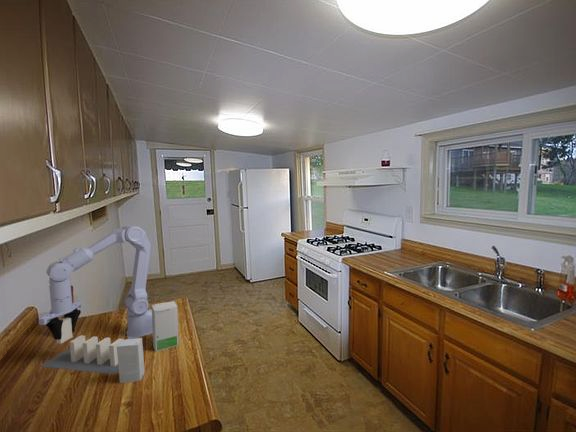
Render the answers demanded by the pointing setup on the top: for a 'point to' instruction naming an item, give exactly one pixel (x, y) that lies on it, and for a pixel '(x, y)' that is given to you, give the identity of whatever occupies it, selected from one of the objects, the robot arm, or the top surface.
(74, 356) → the domino
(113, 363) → the domino
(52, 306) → the robot arm
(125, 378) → the skincare box
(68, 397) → the top surface
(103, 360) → the domino
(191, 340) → the top surface
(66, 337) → the domino
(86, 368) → the runner mat
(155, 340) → the skincare box
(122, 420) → the top surface
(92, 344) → the domino
